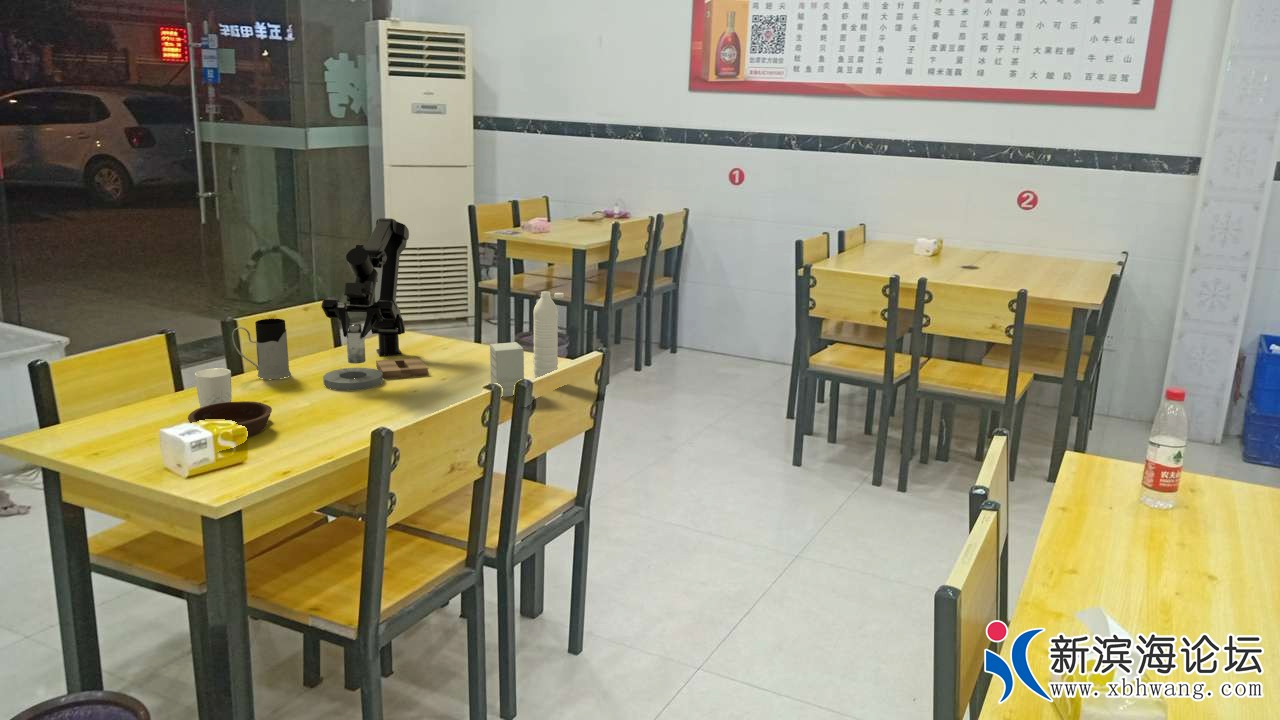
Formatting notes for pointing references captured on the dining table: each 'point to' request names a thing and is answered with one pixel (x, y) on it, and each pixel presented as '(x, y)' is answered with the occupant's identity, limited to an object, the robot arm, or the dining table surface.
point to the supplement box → (506, 365)
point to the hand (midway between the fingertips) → (353, 336)
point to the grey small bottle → (355, 344)
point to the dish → (236, 414)
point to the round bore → (346, 381)
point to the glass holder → (270, 348)
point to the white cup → (213, 386)
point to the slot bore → (395, 371)
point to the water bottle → (545, 334)
